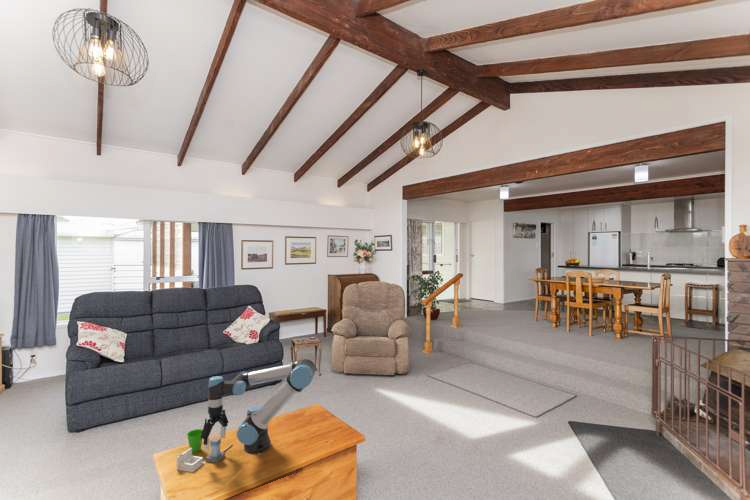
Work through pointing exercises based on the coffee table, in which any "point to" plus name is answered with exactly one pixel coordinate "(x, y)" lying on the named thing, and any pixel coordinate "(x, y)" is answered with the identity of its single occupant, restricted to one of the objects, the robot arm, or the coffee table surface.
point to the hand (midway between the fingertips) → (214, 443)
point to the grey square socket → (215, 460)
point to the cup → (195, 440)
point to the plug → (215, 447)
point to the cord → (227, 448)
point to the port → (189, 461)
